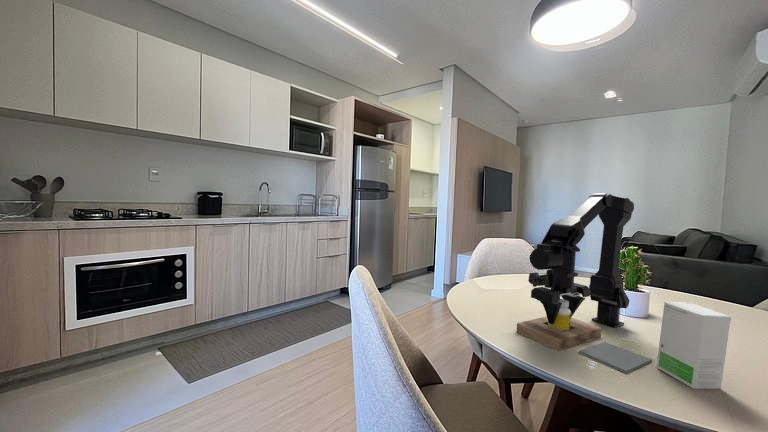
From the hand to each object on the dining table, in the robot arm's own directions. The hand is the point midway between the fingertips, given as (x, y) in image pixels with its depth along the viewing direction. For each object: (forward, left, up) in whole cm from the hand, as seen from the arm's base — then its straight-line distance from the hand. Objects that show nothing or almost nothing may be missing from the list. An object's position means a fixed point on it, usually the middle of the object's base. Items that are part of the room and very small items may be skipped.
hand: (559, 322), depth 86 cm
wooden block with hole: (0, 0, -4) cm, 4 cm away
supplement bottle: (0, 0, -4) cm, 4 cm away
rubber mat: (0, +14, -4) cm, 14 cm away
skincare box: (-5, +26, -4) cm, 27 cm away
